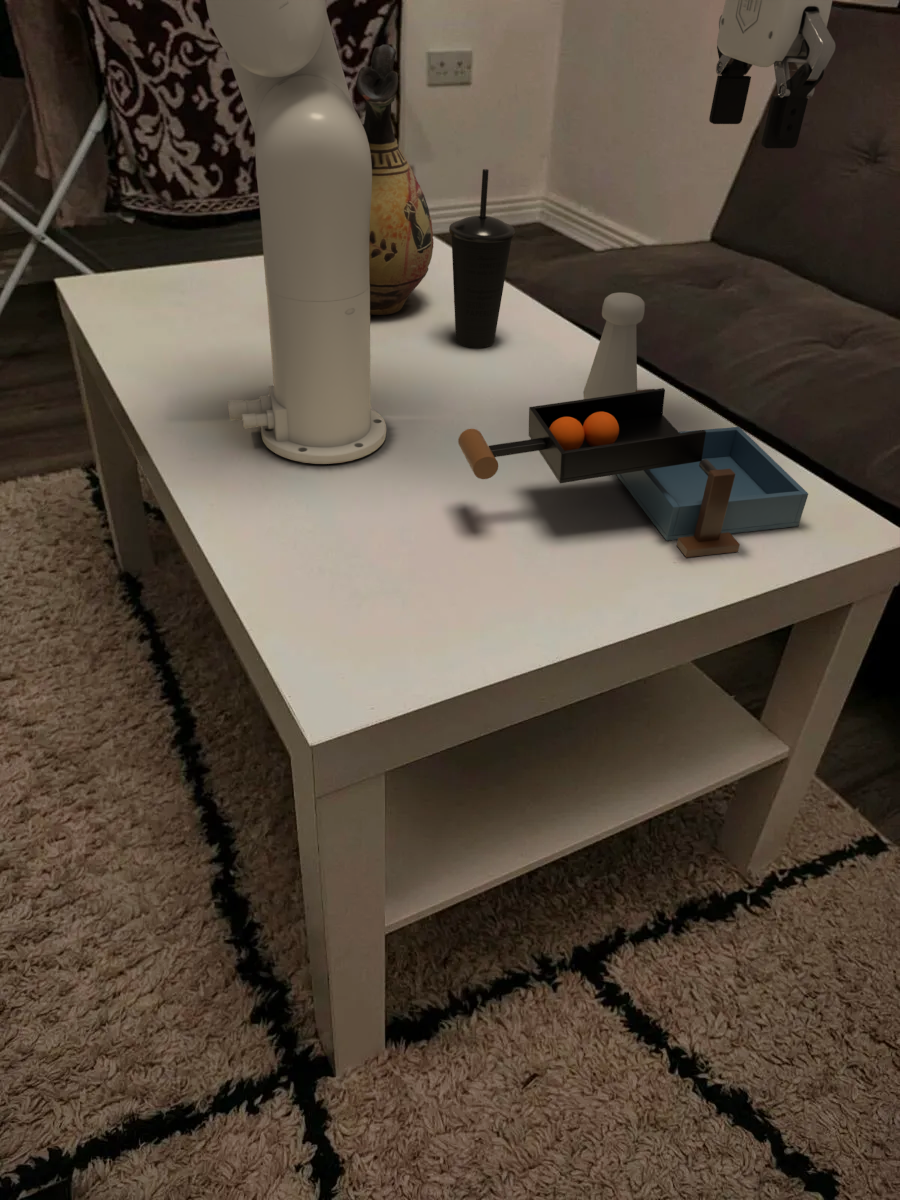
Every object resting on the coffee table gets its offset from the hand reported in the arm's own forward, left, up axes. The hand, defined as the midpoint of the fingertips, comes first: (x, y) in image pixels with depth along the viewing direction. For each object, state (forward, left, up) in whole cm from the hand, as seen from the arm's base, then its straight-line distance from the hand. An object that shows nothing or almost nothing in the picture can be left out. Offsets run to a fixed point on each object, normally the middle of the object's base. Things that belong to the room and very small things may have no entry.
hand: (750, 134), depth 87 cm
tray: (-6, -15, -29) cm, 33 cm away
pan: (-19, -15, -23) cm, 34 cm away
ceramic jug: (-27, +40, -29) cm, 56 cm away
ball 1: (-21, -15, -21) cm, 33 cm away
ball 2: (-17, -15, -21) cm, 31 cm away
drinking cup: (-17, +25, -29) cm, 42 cm away
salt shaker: (-8, +3, -29) cm, 30 cm away
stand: (-9, -15, -29) cm, 34 cm away
